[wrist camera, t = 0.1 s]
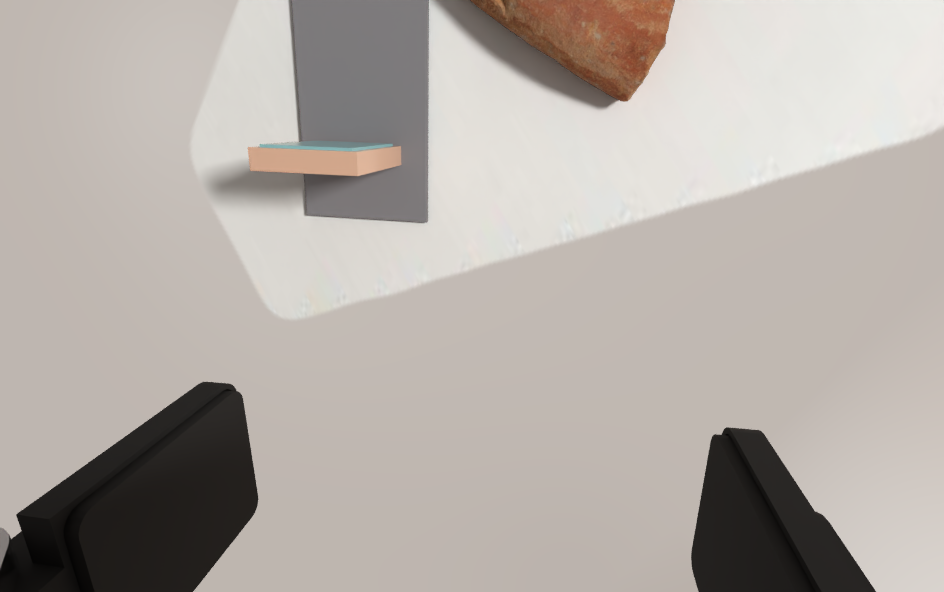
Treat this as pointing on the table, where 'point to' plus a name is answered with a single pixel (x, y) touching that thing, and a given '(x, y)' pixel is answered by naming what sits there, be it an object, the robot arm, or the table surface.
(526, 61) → the table surface
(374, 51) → the mat
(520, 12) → the ceramic shard
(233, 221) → the table surface
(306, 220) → the table surface
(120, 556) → the robot arm
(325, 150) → the tile
